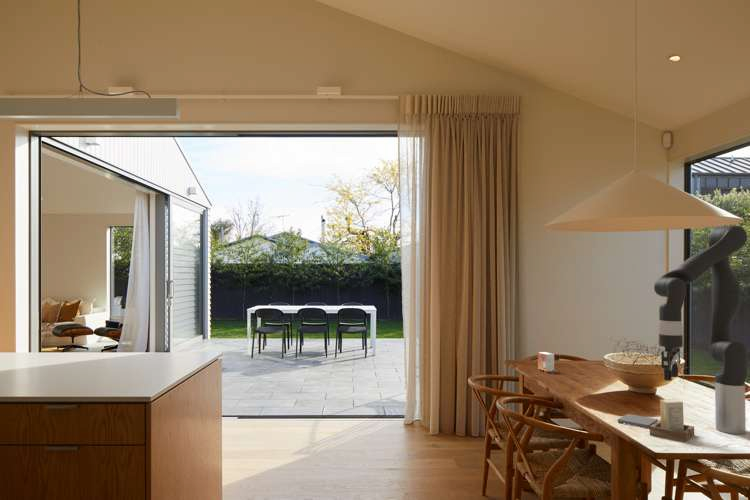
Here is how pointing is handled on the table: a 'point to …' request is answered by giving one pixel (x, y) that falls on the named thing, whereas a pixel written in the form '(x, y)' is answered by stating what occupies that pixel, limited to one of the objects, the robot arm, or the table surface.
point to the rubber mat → (637, 420)
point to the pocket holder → (672, 432)
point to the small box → (545, 361)
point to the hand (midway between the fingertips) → (671, 378)
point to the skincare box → (672, 415)
